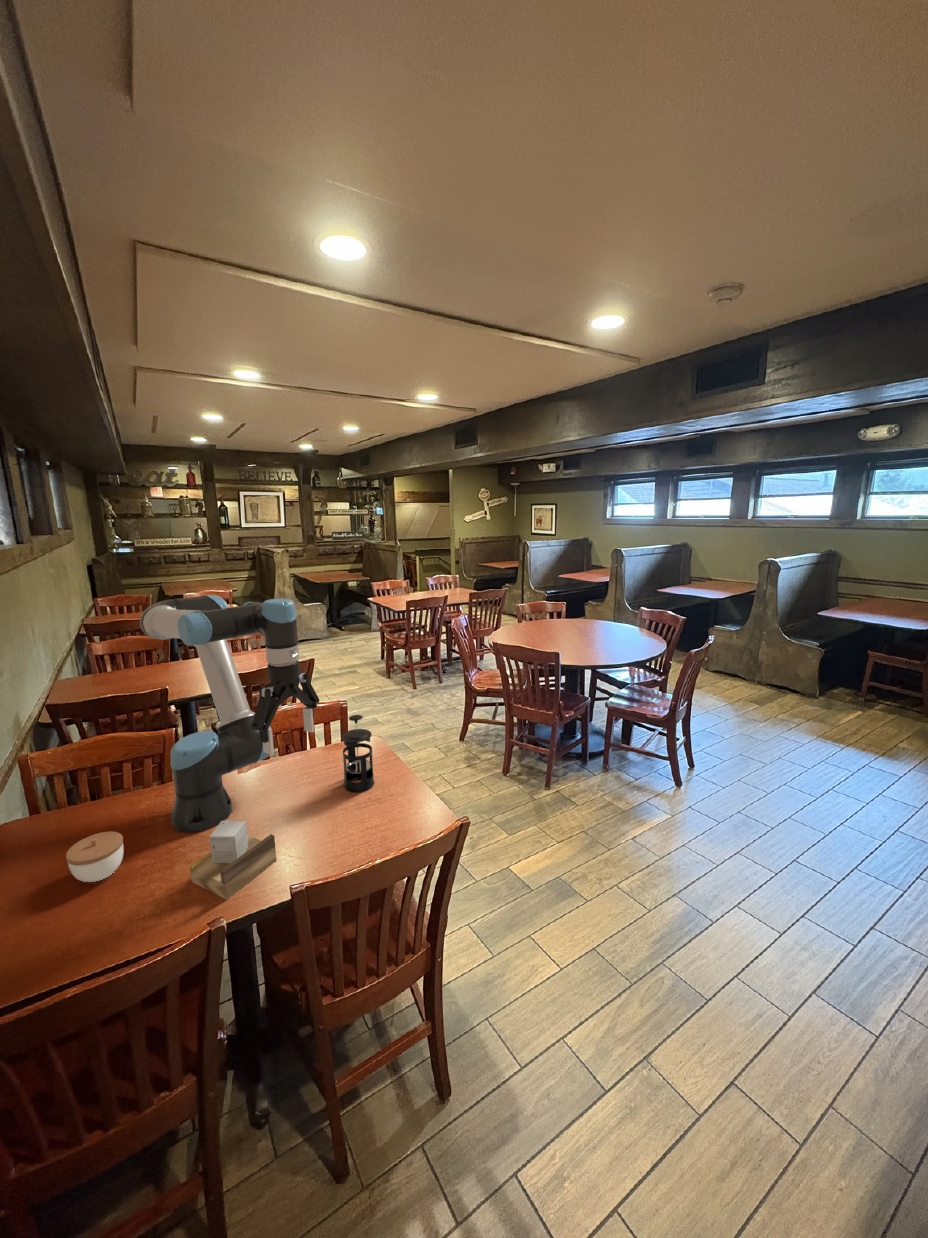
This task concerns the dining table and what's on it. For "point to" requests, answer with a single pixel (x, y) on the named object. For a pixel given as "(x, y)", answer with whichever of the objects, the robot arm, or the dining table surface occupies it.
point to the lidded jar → (96, 856)
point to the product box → (228, 841)
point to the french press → (357, 759)
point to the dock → (234, 868)
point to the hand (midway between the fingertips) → (290, 741)
